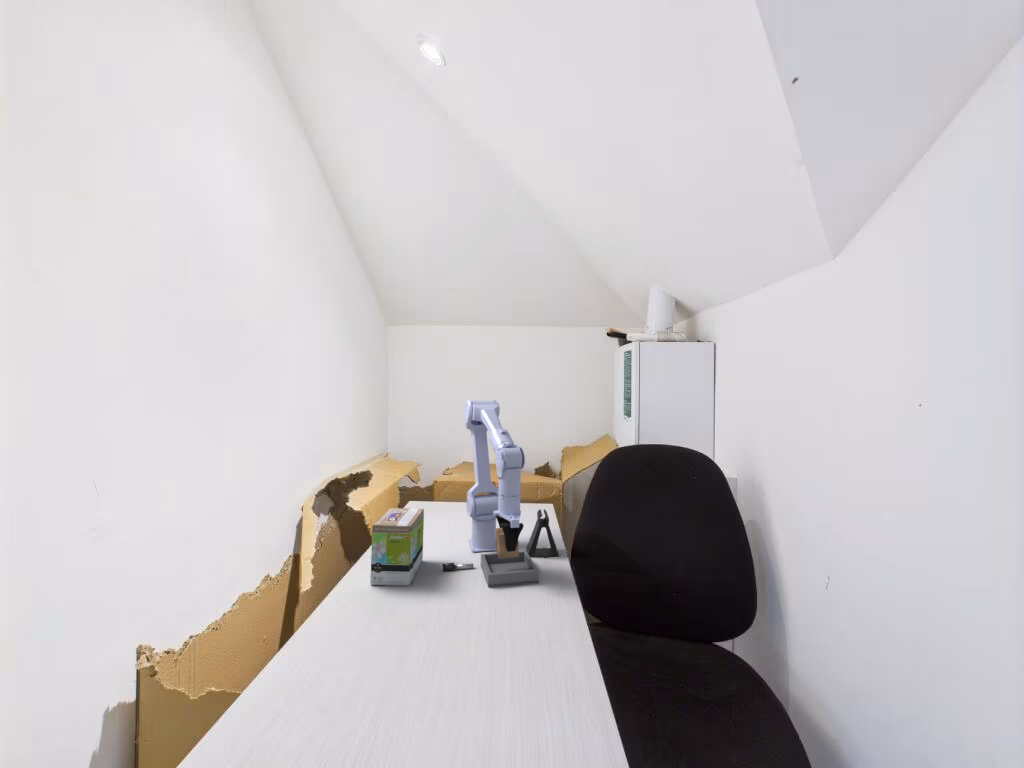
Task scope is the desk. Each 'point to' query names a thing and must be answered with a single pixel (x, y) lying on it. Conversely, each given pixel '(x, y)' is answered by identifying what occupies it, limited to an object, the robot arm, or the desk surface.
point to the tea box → (397, 546)
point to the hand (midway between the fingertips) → (508, 546)
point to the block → (504, 546)
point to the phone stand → (534, 538)
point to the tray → (509, 570)
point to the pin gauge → (456, 566)
